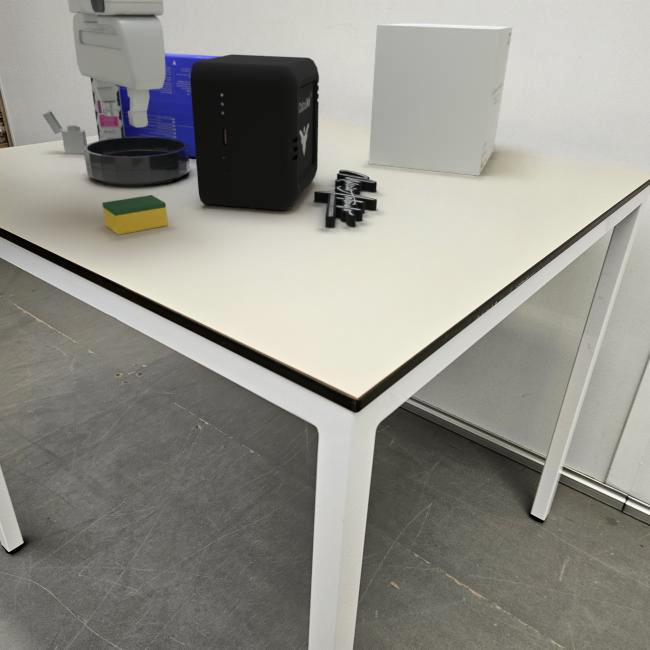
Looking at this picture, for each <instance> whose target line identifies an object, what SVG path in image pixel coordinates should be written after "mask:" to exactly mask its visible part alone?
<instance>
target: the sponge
mask: <svg viewBox="0 0 650 650" xmlns="http://www.w3.org/2000/svg"><path fill="white" fill-rule="evenodd" d="M101 205H102V211H103V217H104V223H105V226H106V227H107V228H108V229H109V230H111V231H112V232H113V233H115V234H116V235H118V236H120V235H125V234H129V233H135V232H141V231H146V230H150V229H156V228H161V227H167V226H168V215H167V205H166V202H164V201H163V200H161V199H160V198H158V197H157V196H154V195H153V194H148V195H142V196H137V197H136V196H135V197H130V198H123V199H117V200H110V201H104V202H103V201H102V203H101Z"/></svg>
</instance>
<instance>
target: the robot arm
mask: <svg viewBox="0 0 650 650" xmlns="http://www.w3.org/2000/svg"><path fill="white" fill-rule="evenodd" d="M67 5H68V10H69V13H72V14H74V15H73V17H72V32H73V40H74V41H73V42H74V49H75V57H76V64H77V68H78V71H79V72H80V75H82V76H83V77H86V78H90V77H91V78H93V82H94V87H95V90H96V92H97V95H98V97H99V100H100V102H101V109H102V113H103V114H104V115H105V116H109V117H112V116H118V115H119V110H118V102H117V101H115V96H114V92H113V88H112V87H113V86H114V85H113V84H116V85H120V86H124V87H127V93H128V97H130V111H128V117H129V123H130V125H132V126H134V127H137V128H138V127H146V126H147V125H148V119H147V108H148V103H149V98H150V96H149V89H160V88H162V87H163V84H164V80H165V74H166V69H165V53H166V52H165V39H164V31H163V26H162V22H161V20H160V18H159V16H162V15H163V14H164V11H165V10H164V9H165V8H164V0H67Z"/></svg>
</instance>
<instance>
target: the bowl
mask: <svg viewBox="0 0 650 650" xmlns="http://www.w3.org/2000/svg"><path fill="white" fill-rule="evenodd" d="M83 155H84V161H85V168H86V172H87V176H88V177H90V178H92V179H93V180H97V181H98V182H100V183H104V184H106V185H112V186H122V187H142V186H153V185H161V184H166V183H170V182H173V181H176V180H179V179H180V178H181V177H183V176H184V175H187V174H188V173H189V172H190V170H191V167H190V157H189V152H188V145H187V144H186V142H183V141H180V140H177V139H171V138H163V137H122V138H112V139H106V140H100V141H99V140H97V141H93V142H90V143H87V145H86V146H84V154H83Z"/></svg>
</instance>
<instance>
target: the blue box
mask: <svg viewBox="0 0 650 650" xmlns="http://www.w3.org/2000/svg"><path fill="white" fill-rule="evenodd" d="M221 56H222V55H204V54H189V53H168V52H165V69H166V74H165V80H164V84H163V87H162V88H160V89H149V96H150V98H149V103H148V108H147V119H148V125H147V126H146V127H138V128H137V127H134V126H132V125H130V123H129V117H128V111H130V97H128V93H127V87H124V86H120V85H119V89H120V98H121V106H122V115H123V124H124V134H125V137H163V138H171V139H177V140H180V141H183V142H186V144H187V145H188V152H189V158H195V159H196V151H195V137H194V124H193V110H192V96H191V83H190V75H191V69H192V66H193V64H194V63H195V62H196V61H201V60H206V59H211V58H216V57H221Z"/></svg>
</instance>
